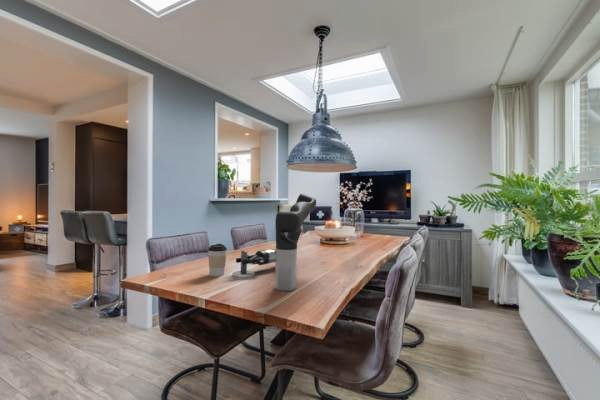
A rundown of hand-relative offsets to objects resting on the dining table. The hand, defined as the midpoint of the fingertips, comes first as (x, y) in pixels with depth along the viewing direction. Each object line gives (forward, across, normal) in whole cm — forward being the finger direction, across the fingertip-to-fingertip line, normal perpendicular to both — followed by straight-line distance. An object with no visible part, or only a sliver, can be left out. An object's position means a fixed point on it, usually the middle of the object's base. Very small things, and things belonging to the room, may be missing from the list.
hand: (239, 261), depth 144 cm
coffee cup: (+7, -9, +7) cm, 13 cm away
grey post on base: (-3, 0, +7) cm, 8 cm away
